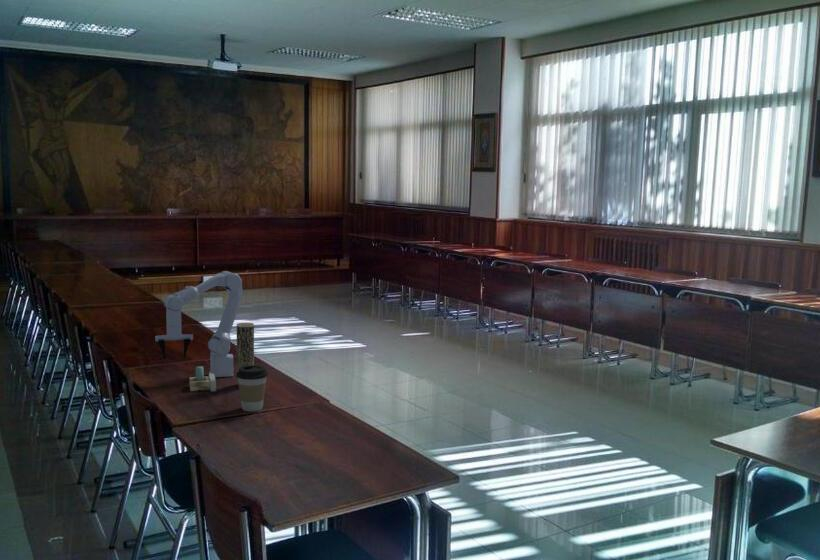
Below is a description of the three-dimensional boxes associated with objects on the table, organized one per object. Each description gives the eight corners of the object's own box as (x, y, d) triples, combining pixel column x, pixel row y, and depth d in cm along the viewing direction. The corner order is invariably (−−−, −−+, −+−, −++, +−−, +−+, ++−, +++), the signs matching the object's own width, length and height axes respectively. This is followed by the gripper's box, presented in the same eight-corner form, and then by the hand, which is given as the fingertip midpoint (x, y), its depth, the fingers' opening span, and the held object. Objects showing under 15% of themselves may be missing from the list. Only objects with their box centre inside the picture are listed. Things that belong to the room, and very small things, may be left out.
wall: (214, 382, 302) (213, 373, 302) (216, 391, 291) (215, 381, 290) (208, 383, 302) (208, 373, 301) (210, 391, 290) (210, 381, 290)
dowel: (201, 385, 297) (201, 365, 296) (205, 387, 295) (204, 367, 294) (194, 386, 295) (194, 367, 294) (198, 388, 293) (197, 368, 292)
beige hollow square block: (209, 384, 300) (209, 376, 299) (210, 389, 292) (210, 381, 292) (189, 385, 297) (189, 377, 297) (190, 391, 290) (190, 382, 290)
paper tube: (256, 383, 303) (256, 323, 300) (251, 387, 297) (250, 326, 293) (240, 382, 304) (239, 322, 301) (234, 386, 297) (234, 325, 294)
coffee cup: (251, 402, 278) (251, 363, 276) (274, 407, 272) (274, 367, 270) (229, 409, 268) (229, 369, 266) (253, 415, 262) (252, 374, 260)
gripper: (192, 322, 306) (192, 354, 308) (155, 323, 302) (155, 356, 303) (192, 325, 299) (193, 358, 301) (154, 327, 295) (155, 360, 297)
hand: (174, 357), depth 302 cm, fingers open, 7 cm apart
